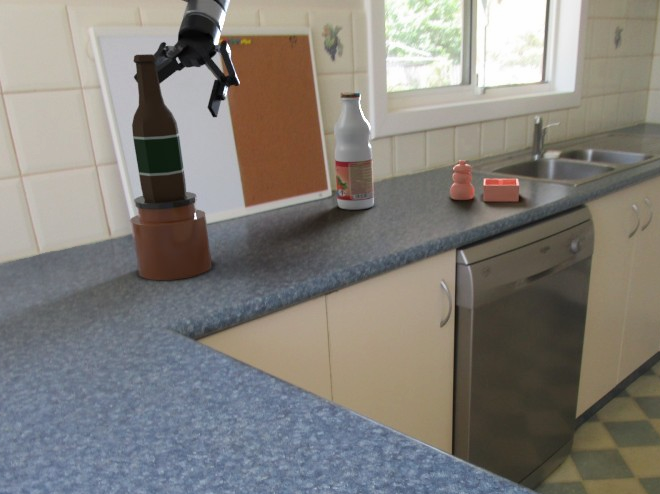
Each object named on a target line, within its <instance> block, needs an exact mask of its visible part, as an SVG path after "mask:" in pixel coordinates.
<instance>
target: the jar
mask: <svg viewBox="0 0 660 494" xmlns="http://www.w3.org/2000/svg"><path fill="white" fill-rule="evenodd" d="M197 201H198V199H197V194H196V193H194V192H190V191H186V195H185V197H184V198H180V199H175V200H170V201H149V200H145V199H144V198H143V195H141V196H138V197H136V198H134V199H133V203H134V207H135V208H136V211H137V215H134V216H133V217H131V218H130V220H129V223H130V229H131V235H132V240H133V246H134V254H135V258H136V264H137V270H138V275H139V276H140V277H141V278H143V279H146V280H151V281H152V280H153V281H174V280H181V279H187V278H188V279H189V278H192V277H196V276H199V275H202V274H204V273H207V272H208V271H210V269H212V267H213V263H212V255H211V247H210V239H209V231H208V223H207V216H206V212H205V211H203V210H201V209H197V206H196V202H197Z"/></svg>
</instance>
